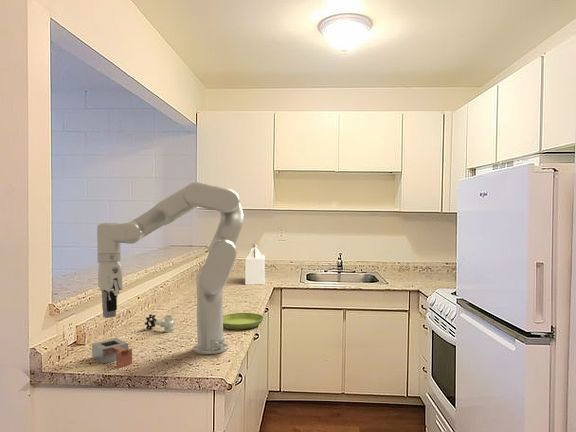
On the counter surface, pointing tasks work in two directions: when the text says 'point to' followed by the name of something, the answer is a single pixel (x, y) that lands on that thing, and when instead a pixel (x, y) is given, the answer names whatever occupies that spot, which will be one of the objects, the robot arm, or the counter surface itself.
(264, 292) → the counter surface
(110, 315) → the square peg
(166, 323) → the valve
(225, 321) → the saucer
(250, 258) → the gable box
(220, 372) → the counter surface
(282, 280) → the counter surface
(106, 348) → the square sleeve with handle
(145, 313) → the counter surface
